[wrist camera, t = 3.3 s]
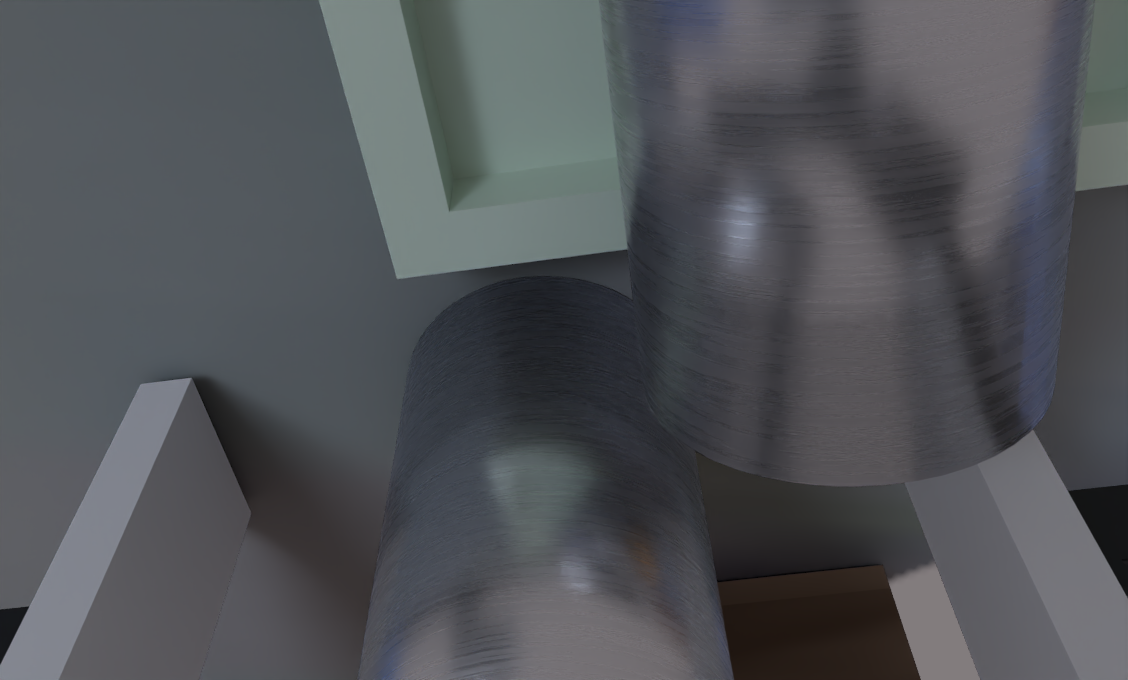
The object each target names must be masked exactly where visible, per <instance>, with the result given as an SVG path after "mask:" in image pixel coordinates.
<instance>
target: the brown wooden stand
mask: <svg viewBox="0 0 1128 680" xmlns="http://www.w3.org/2000/svg"><path fill="white" fill-rule="evenodd" d="M717 584H718V590H719V596H720V602H721V607H722V613H723V619H724V625H725V631H726V637H727V642H728V648H729V654H730V660H731V666H732V672H733V678H734V680H921V679H920V676H919V673H918V670H917V667H916V664H915V661H914V658H913V655H912V652H911V649H910V646H909V643H908V640H907V637H906V634H905V631H904V628H903V625H902V622H901V619H900V616H899V613H898V610H897V607H896V604H895V601H894V598H893V595H892V592H891V589H890V586H889V583H888V580H887V577H886V574H885V571H884V568H883V565H876V566H867V567H858V568H848V569H839V570H829V571H820V572H810V573H801V574H791V575H782V576H772V577H763V578H753V579H744V580H734V581H725V582H717Z"/></svg>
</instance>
